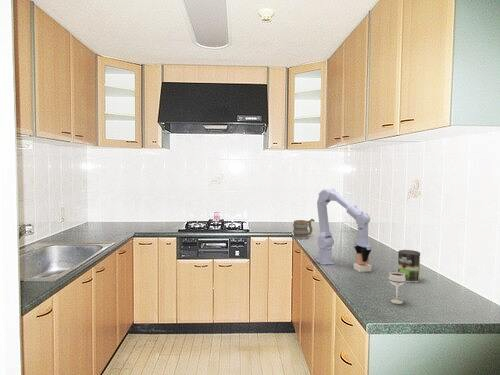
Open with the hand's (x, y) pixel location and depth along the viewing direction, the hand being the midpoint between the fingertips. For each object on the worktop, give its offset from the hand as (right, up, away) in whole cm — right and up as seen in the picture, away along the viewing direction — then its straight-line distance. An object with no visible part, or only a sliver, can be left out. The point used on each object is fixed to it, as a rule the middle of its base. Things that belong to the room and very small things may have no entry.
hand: (362, 260), depth 208 cm
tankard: (-18, -1, +97) cm, 99 cm away
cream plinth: (0, -5, 0) cm, 5 cm away
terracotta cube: (0, -2, 0) cm, 2 cm away
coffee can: (+18, -7, -18) cm, 26 cm away
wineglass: (0, -8, -49) cm, 50 cm away
